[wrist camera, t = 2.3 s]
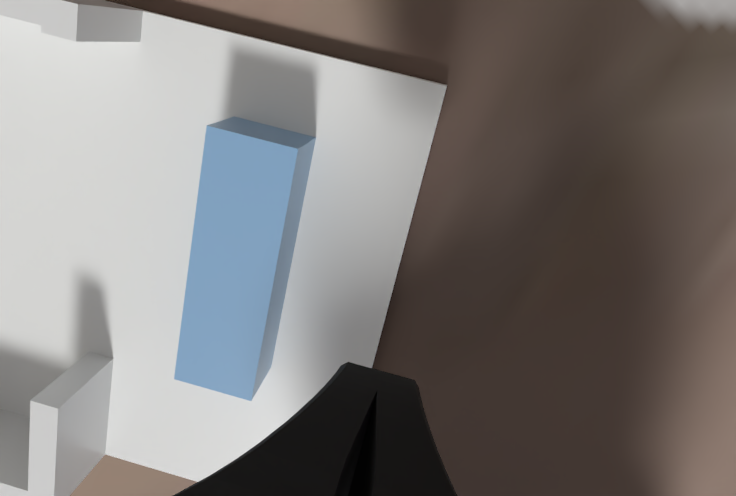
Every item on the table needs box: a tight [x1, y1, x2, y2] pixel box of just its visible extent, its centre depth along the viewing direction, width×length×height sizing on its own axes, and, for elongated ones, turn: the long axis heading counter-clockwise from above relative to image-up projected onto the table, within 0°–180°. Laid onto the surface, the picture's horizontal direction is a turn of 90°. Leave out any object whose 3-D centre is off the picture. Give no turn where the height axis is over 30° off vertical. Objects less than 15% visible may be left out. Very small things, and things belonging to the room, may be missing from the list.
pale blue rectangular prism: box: [174, 116, 316, 401], centre depth 16 cm, size 2×7×2 cm, turn 167°
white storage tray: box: [0, 0, 447, 496], centre depth 16 cm, size 15×14×3 cm
